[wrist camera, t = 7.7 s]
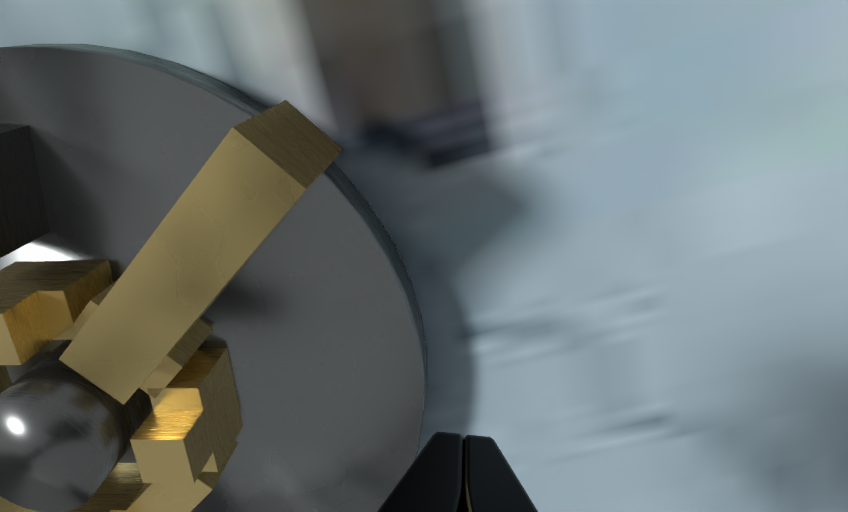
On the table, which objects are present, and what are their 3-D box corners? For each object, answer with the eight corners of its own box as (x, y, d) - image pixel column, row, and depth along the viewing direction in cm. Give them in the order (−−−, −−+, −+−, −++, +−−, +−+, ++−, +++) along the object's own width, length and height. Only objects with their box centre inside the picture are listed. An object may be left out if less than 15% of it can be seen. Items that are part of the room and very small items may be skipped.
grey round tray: (412, 598, 24) (396, 741, 19) (-72, 542, 25) (-198, 664, 20) (449, 68, 16) (437, 96, 11) (-259, 20, 17) (-533, 26, 12)
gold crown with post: (147, 534, 21) (87, 630, 18) (-78, 388, 19) (-189, 465, 16) (442, 236, 16) (433, 296, 13) (171, 0, 14) (80, -2, 11)
